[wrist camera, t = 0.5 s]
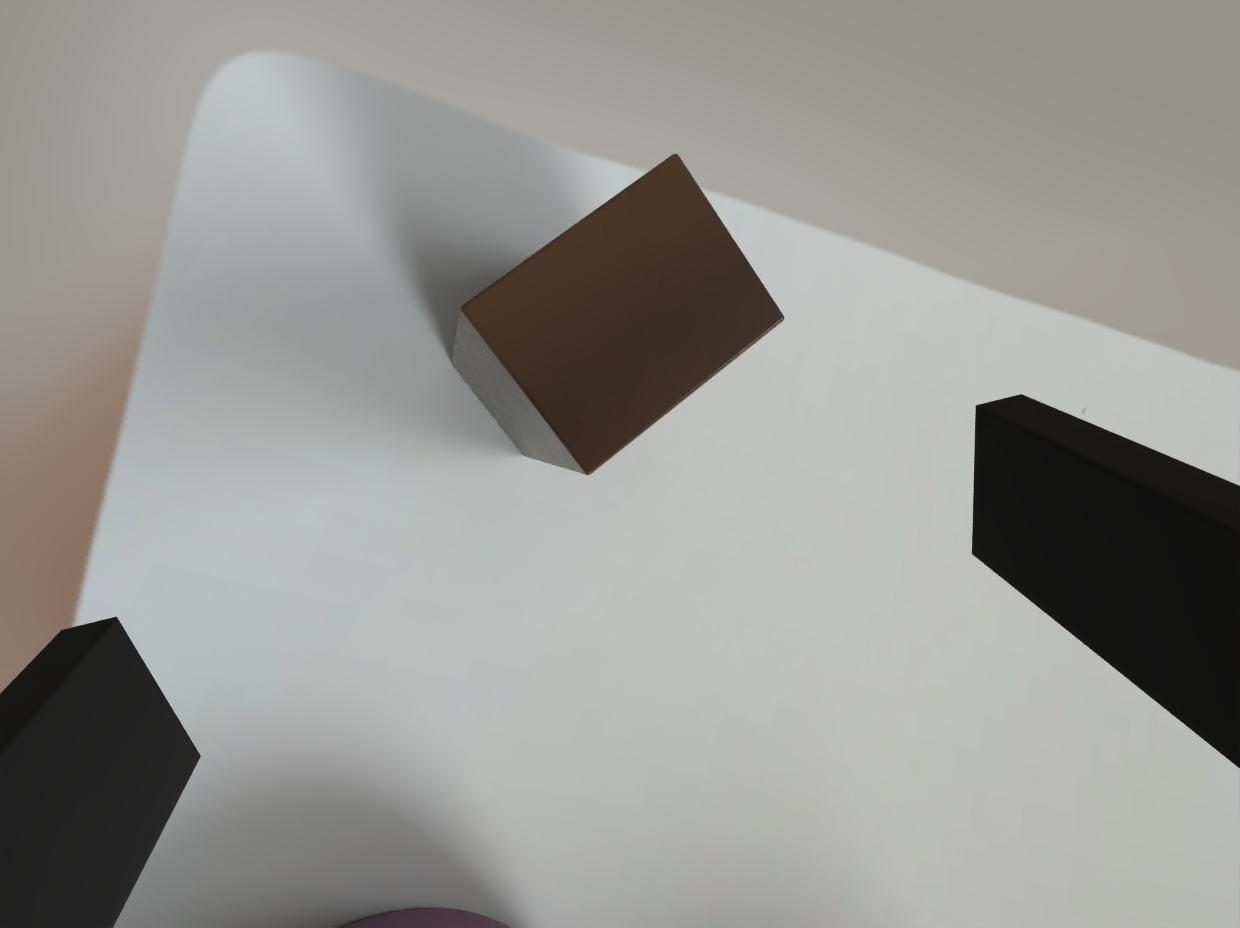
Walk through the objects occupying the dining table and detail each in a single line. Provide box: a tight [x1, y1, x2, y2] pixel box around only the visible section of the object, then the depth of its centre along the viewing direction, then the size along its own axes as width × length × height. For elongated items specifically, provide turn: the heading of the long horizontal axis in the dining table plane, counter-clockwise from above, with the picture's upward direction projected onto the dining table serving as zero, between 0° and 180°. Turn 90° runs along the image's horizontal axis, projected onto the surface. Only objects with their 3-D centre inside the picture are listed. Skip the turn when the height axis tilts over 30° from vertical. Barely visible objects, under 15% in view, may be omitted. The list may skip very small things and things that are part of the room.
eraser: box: [452, 154, 784, 475], centre depth 21 cm, size 4×6×12 cm
